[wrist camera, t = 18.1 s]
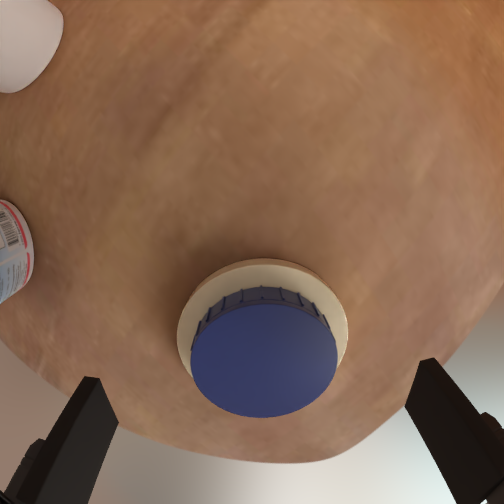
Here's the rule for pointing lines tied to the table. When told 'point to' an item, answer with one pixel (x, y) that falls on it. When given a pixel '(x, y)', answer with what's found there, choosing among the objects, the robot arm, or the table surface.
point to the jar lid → (263, 352)
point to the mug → (27, 41)
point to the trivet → (254, 276)
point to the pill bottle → (14, 251)
